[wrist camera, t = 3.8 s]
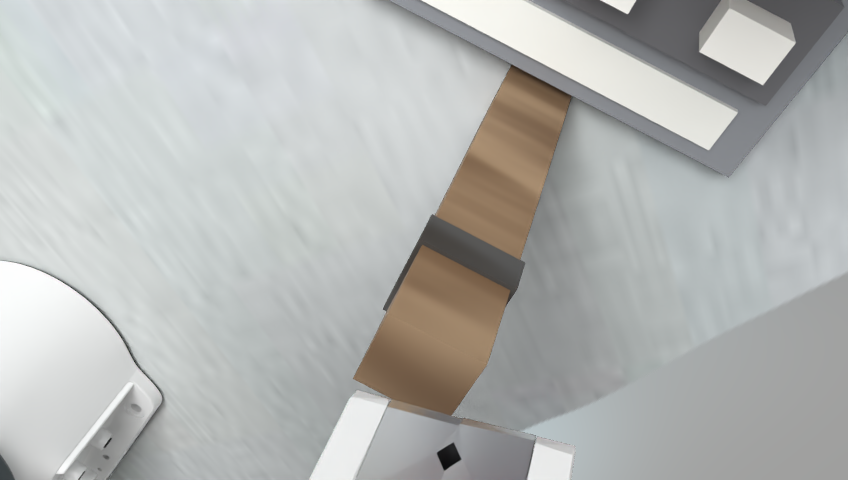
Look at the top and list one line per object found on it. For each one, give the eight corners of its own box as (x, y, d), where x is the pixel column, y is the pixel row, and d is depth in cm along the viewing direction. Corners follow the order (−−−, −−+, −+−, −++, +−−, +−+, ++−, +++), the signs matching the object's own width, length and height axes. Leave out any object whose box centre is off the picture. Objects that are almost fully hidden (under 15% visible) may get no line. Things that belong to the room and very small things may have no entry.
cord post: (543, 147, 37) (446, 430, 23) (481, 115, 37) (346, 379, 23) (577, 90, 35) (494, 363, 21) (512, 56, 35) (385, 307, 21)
